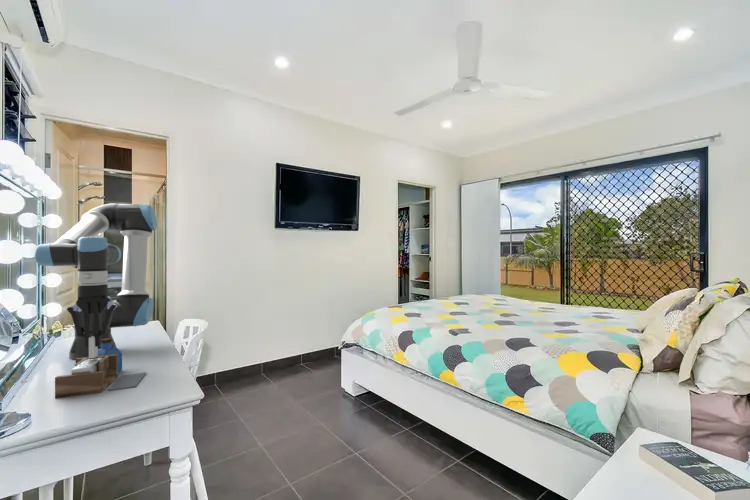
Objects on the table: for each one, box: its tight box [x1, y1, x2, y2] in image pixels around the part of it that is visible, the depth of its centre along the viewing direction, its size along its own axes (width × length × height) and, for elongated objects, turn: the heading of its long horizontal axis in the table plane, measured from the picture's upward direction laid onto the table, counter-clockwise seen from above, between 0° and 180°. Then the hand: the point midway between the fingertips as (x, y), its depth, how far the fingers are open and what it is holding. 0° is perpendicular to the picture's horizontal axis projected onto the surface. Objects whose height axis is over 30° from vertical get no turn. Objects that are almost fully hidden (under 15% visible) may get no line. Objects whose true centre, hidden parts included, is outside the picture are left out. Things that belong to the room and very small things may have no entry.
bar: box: [71, 358, 103, 375], centre depth 107 cm, size 10×5×4 cm, turn 21°
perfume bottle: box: [97, 338, 123, 373], centre depth 120 cm, size 6×6×12 cm
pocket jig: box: [54, 354, 119, 399], centre depth 108 cm, size 14×11×8 cm
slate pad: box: [107, 372, 147, 391], centre depth 111 cm, size 13×7×1 cm, turn 21°
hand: (93, 356), depth 111 cm, fingers closed
